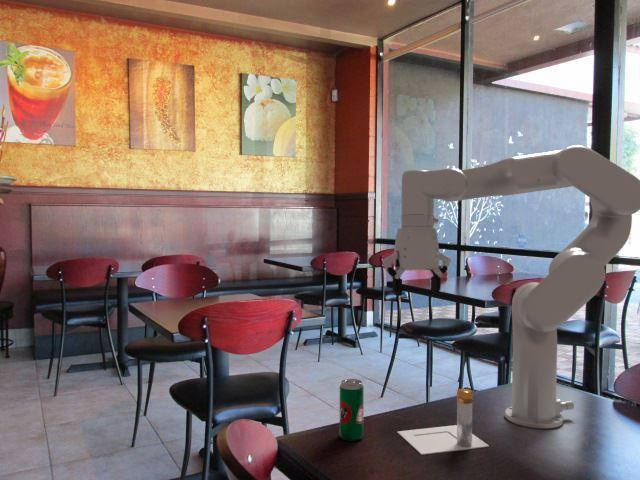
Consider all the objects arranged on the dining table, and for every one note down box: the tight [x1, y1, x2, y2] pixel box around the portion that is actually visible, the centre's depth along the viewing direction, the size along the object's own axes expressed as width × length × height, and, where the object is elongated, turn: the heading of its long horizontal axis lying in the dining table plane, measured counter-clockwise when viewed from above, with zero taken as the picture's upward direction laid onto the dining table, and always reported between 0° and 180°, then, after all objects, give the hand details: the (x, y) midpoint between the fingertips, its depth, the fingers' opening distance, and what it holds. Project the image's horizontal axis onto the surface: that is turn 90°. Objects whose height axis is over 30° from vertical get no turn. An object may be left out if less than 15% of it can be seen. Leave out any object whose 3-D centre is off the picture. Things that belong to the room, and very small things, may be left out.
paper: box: [397, 424, 490, 456], centre depth 118 cm, size 15×12×1 cm
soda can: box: [339, 378, 365, 442], centre depth 119 cm, size 5×5×12 cm
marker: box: [456, 388, 474, 447], centre depth 114 cm, size 3×3×11 cm
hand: (416, 294), depth 133 cm, fingers open, 9 cm apart
